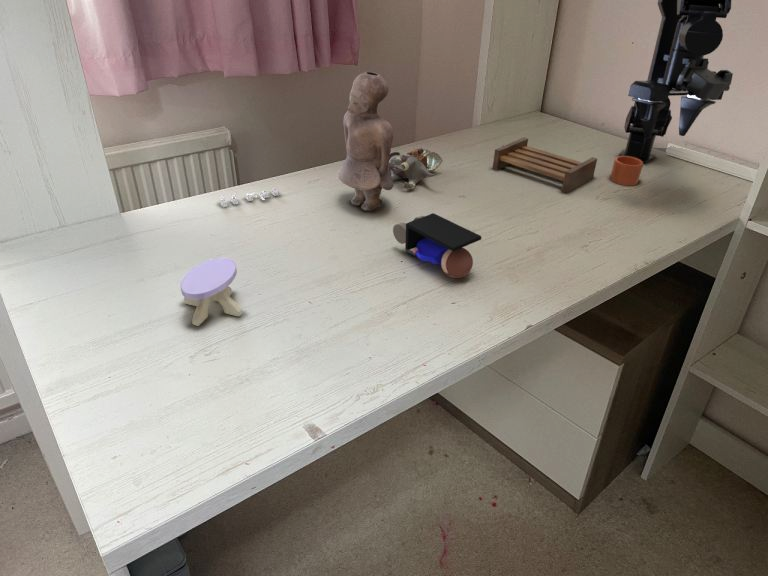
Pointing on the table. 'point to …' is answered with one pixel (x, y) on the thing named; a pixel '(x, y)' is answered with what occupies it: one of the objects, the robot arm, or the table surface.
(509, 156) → the rack
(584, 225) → the table surface
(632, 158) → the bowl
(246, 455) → the table surface
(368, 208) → the clay figurine
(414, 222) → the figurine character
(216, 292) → the toy table
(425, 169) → the figurine
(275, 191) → the figurines set
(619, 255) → the table surface
